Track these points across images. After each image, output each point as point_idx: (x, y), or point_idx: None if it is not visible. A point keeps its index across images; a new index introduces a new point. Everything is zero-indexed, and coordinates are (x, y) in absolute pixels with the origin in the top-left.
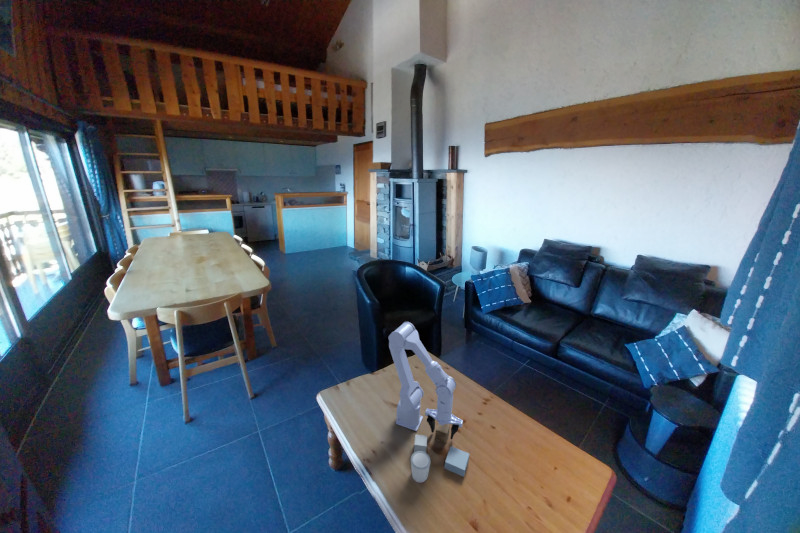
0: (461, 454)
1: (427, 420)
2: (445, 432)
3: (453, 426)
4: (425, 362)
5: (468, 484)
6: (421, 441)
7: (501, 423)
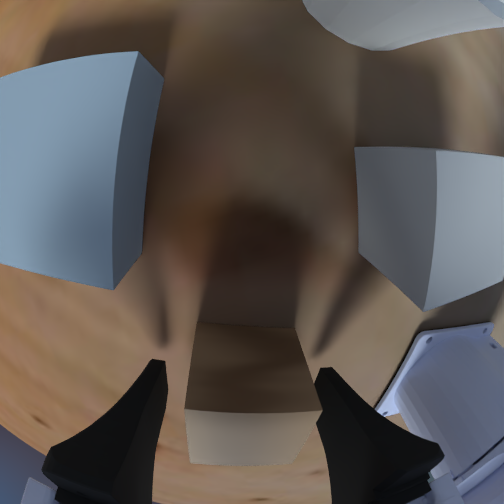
0: (10, 224)
1: (441, 457)
2: (205, 416)
3: (105, 502)
4: None
5: (14, 63)
6: (479, 213)
7: (31, 428)
